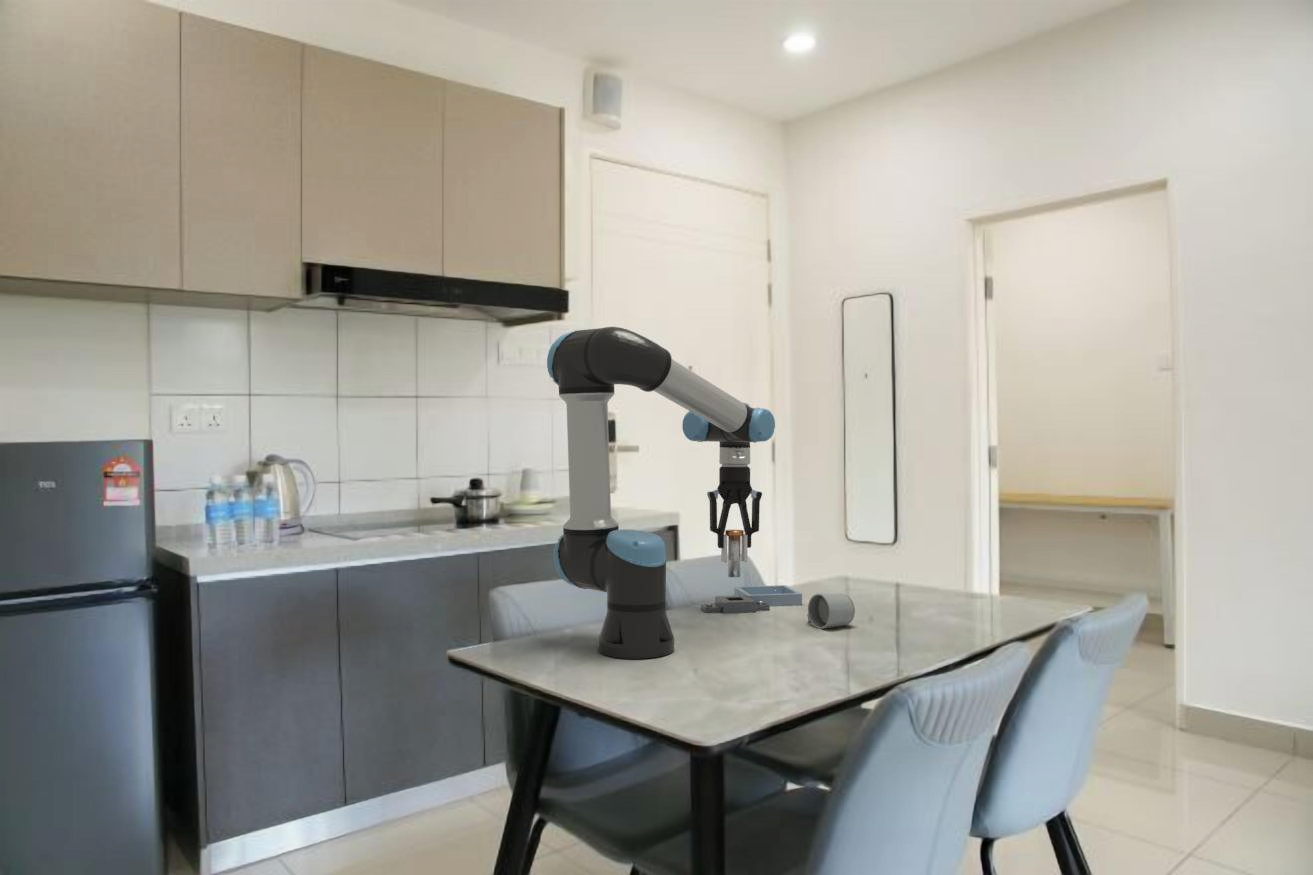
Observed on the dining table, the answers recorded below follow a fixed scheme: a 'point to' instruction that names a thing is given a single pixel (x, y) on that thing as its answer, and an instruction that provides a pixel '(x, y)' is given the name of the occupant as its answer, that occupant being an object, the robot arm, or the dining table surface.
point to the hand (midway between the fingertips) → (734, 561)
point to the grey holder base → (734, 605)
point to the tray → (771, 594)
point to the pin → (734, 552)
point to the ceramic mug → (830, 610)
